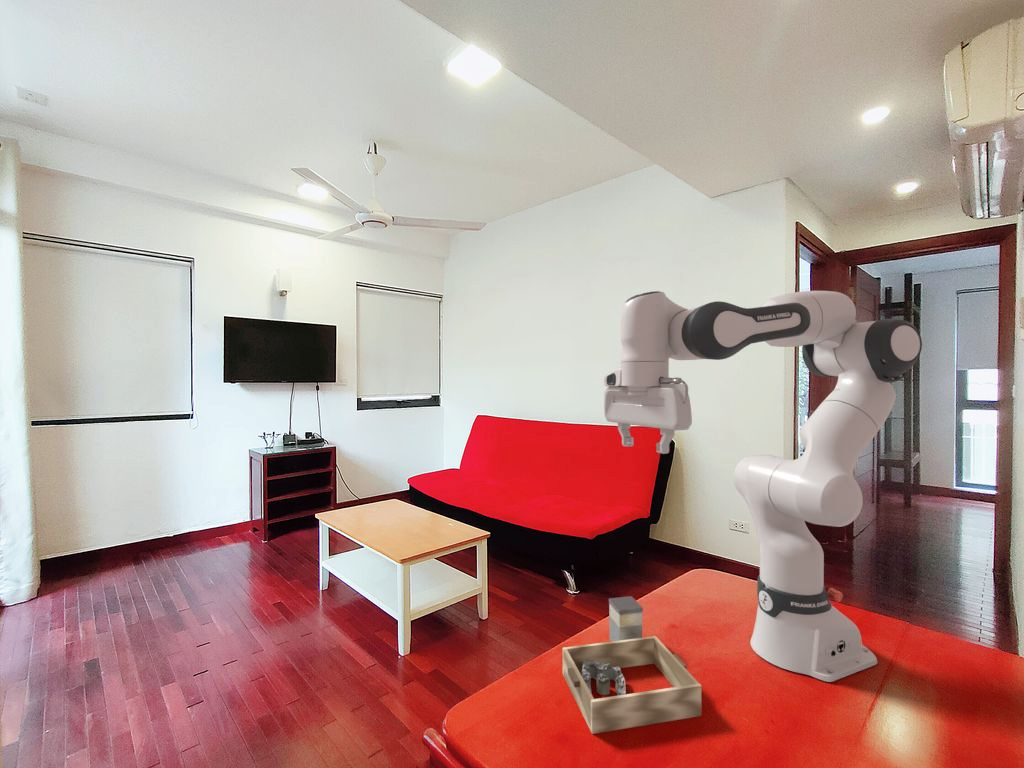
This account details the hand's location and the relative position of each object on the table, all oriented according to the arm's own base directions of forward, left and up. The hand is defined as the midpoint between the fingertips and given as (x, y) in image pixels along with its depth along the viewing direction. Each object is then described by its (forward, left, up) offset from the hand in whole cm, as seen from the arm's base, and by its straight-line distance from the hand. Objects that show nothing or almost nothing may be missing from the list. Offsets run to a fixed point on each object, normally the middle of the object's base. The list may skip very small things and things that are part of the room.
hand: (644, 449), depth 89 cm
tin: (0, -8, -42) cm, 43 cm away
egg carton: (+11, +7, -42) cm, 44 cm away
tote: (+7, +7, -42) cm, 43 cm away
